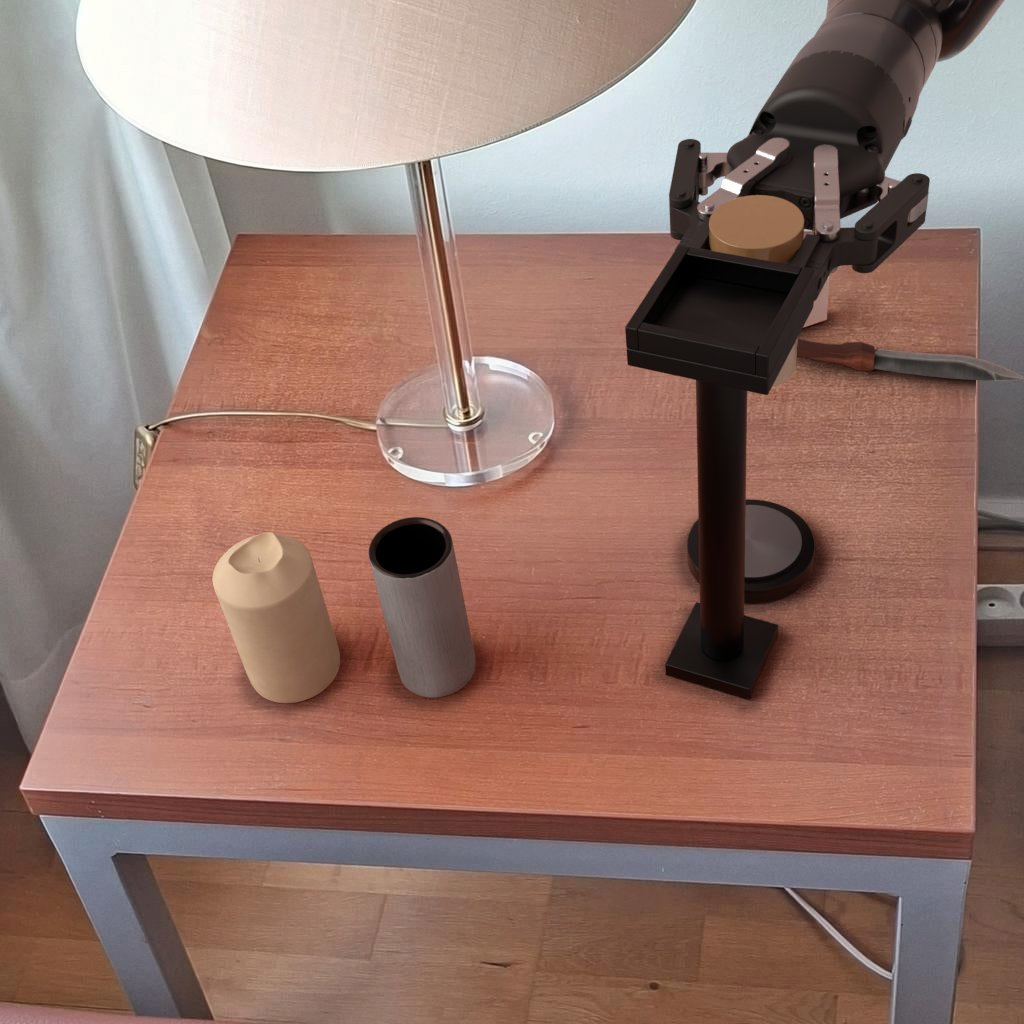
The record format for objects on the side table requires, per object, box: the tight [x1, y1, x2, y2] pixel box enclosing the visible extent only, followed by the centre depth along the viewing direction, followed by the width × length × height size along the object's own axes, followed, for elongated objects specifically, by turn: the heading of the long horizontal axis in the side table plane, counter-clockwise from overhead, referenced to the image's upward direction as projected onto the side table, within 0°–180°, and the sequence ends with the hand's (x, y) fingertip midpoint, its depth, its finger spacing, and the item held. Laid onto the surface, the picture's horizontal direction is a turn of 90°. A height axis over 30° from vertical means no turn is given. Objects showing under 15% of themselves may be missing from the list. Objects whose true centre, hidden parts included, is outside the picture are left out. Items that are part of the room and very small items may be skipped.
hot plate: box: [686, 498, 816, 605], centre depth 85 cm, size 8×8×2 cm
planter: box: [367, 516, 476, 698], centre depth 79 cm, size 4×4×10 cm
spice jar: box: [709, 195, 805, 388], centre depth 72 cm, size 5×5×9 cm
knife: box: [797, 338, 1024, 382], centre depth 97 cm, size 18×2×3 cm
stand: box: [624, 244, 815, 701], centre depth 72 cm, size 7×7×25 cm
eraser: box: [802, 276, 830, 329], centre depth 100 cm, size 1×5×4 cm, turn 112°
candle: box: [212, 531, 341, 704], centre depth 80 cm, size 6×6×10 cm
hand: (738, 286), depth 69 cm, fingers closed on spice jar, 4 cm apart
